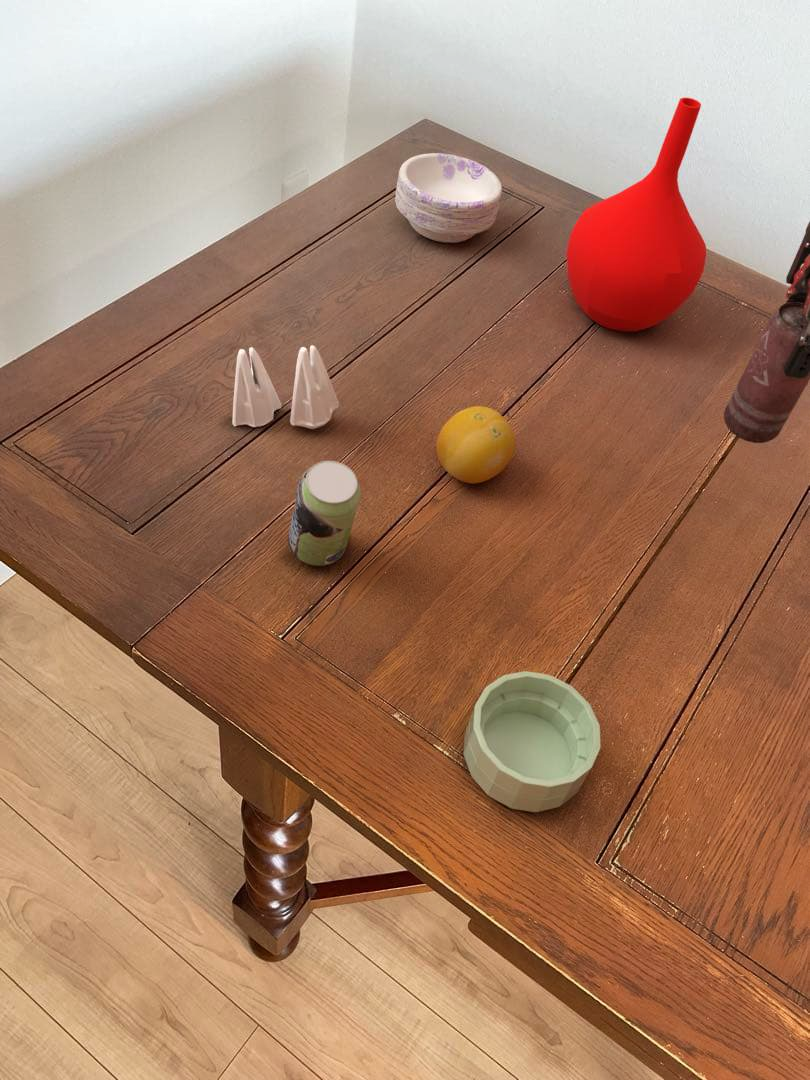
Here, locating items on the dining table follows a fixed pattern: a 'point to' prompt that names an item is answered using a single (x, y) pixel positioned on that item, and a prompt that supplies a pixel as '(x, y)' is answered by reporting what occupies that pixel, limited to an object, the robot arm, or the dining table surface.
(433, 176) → the paper bowls
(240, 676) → the dining table surface
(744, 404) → the can
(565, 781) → the sage bowl
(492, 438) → the fruit
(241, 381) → the shaker set
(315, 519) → the beverage can
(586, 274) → the vase
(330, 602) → the dining table surface
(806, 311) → the robot arm
